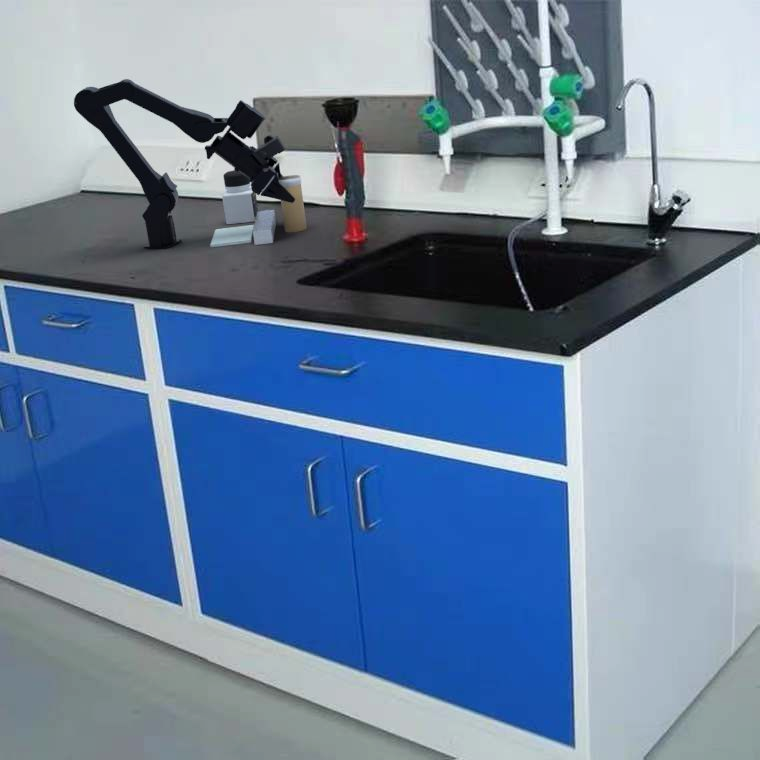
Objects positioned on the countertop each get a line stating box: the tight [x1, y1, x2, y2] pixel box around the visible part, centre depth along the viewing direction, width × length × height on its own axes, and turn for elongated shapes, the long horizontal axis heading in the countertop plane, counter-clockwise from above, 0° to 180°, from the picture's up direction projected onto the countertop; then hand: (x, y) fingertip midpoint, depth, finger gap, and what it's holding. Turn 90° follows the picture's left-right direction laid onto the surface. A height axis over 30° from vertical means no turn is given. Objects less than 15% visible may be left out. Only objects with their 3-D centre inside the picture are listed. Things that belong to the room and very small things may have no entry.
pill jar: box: [279, 174, 308, 233], centre depth 287 cm, size 5×5×12 cm
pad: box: [209, 224, 254, 248], centre depth 289 cm, size 9×16×1 cm, turn 3°
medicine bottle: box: [221, 169, 259, 225], centre depth 304 cm, size 7×7×12 cm
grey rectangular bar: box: [252, 208, 277, 246], centre depth 290 cm, size 25×4×3 cm, turn 3°
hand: (294, 197), depth 287 cm, fingers open, 9 cm apart
